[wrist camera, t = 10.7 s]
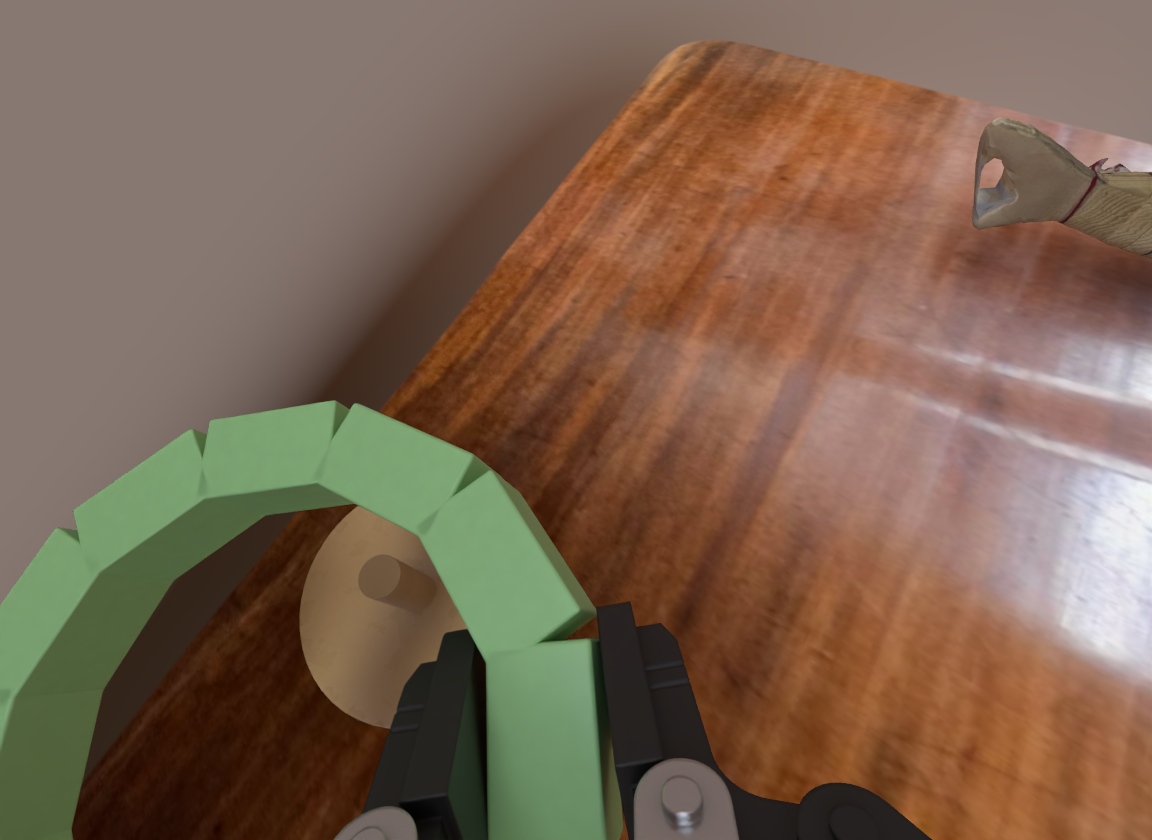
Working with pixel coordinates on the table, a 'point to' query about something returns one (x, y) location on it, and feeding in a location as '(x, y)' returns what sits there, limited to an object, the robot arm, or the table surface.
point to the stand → (372, 615)
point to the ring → (294, 483)
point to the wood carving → (1061, 189)
